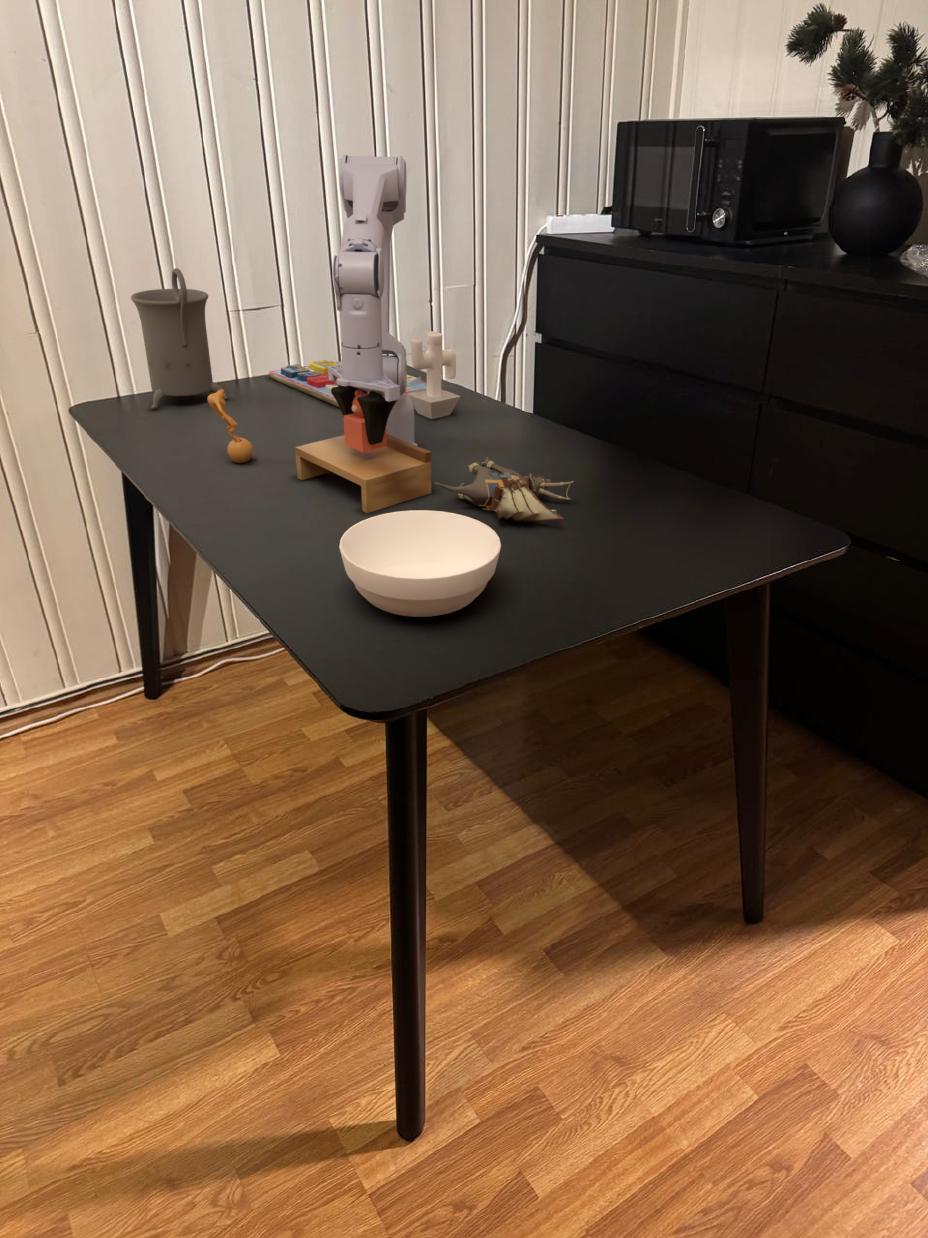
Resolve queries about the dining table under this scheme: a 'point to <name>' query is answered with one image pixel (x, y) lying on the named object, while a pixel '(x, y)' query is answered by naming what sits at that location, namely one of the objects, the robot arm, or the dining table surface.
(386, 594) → the bowl
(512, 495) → the figurine
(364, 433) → the orange box
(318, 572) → the dining table surface
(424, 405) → the figurine
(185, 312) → the grey footed cauldron
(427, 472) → the shelf
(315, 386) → the puzzle board
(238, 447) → the figurine
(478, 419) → the dining table surface
